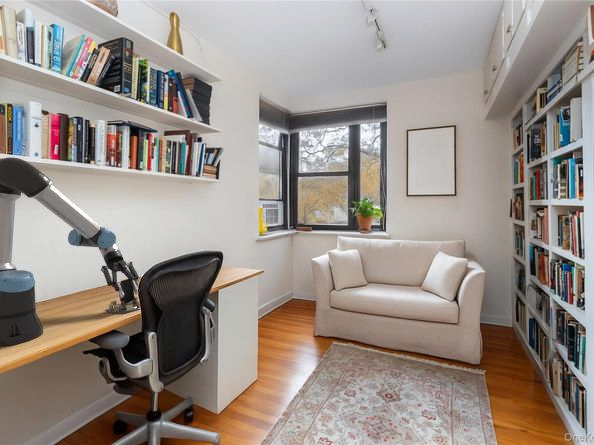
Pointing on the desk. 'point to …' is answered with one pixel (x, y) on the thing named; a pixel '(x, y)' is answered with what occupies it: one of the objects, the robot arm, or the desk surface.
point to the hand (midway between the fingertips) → (130, 294)
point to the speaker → (127, 291)
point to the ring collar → (123, 306)
